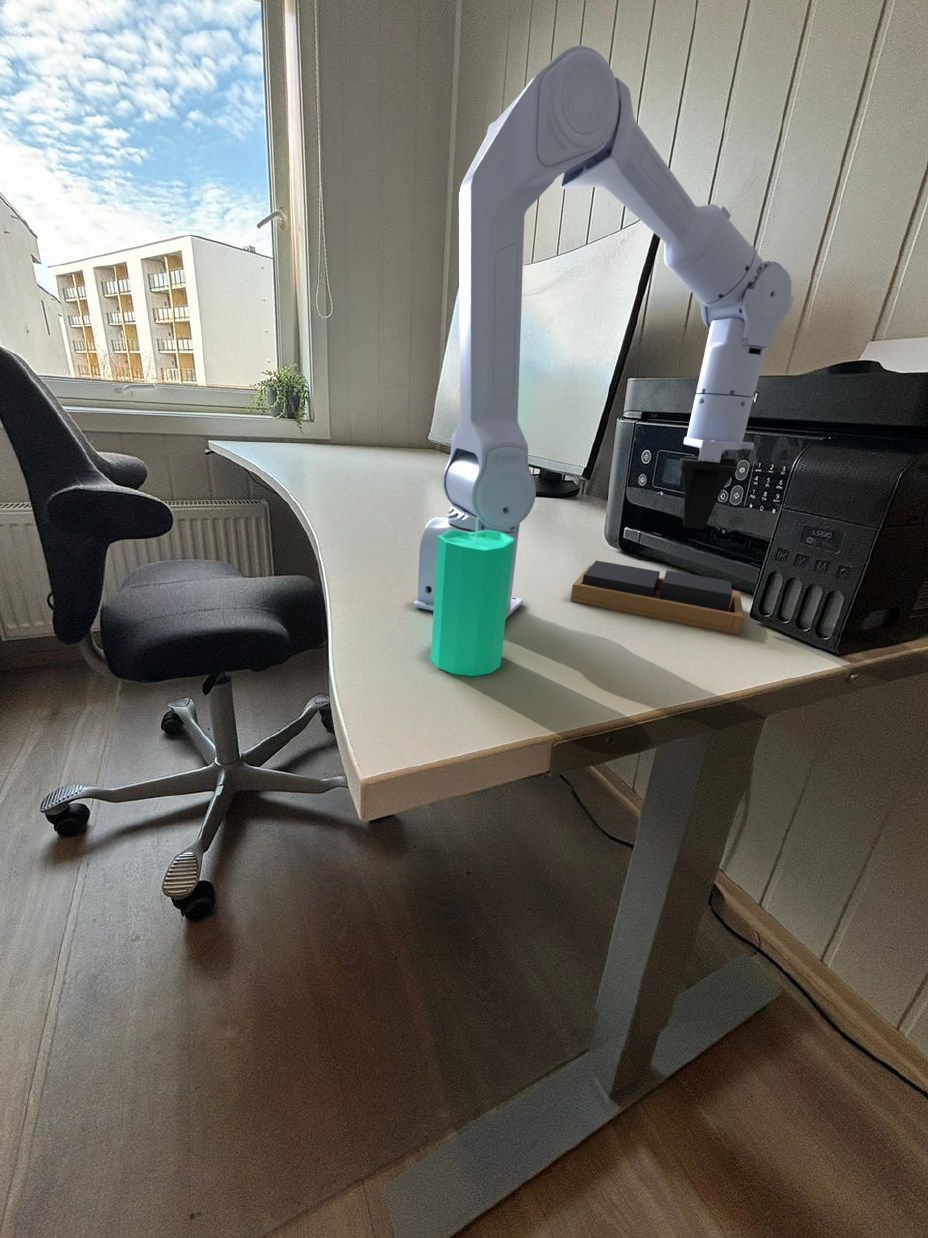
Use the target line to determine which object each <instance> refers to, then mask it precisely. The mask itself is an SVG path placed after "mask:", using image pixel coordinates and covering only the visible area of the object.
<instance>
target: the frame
mask: <svg viewBox="0 0 928 1238" xmlns="http://www.w3.org/2000/svg"><path fill="white" fill-rule="evenodd" d="M592 565H593V564H589V565H588V566H587V568H585V570H584V571H583V572H582V573H581V574H580V576H579V577H578V578H577V579H576V580H575V581H574V582H573V584H572V587H571V593H570V599H569V601H570V602H574V603H579V604H584V605H589V606H594V607H599V608H604V609H609V610H614V611H619V612H625V613H628V614H634V615H637V616H643V617H647V618H648V617H649V618H654V619H658V620H663V621H668V622H673V623H678V624H681V625H682V624H683V625H688V626H692V627H697V628H702V629H708V630H711V631H712V630H713V631H718V632H722V633H727V634H731V635H732V634H733V635H737V636H739V635H740V632H741V628H742V625H743V621H744V618H745V617H744V611H743V609H744V608H743V603H742V597H741V592H740V591H738V590H735V589H734V590H733V589H732V599H731V602H730V606H729V610H728V612H726V611H721V610H715V609H710V608H705V607H700V606H694V605H689V604H684V603H679V602H674V601H668V600H663V599H659V597H660V592H661V587H662V583H663V580H664V577H660V576H659V579H658V584H657V588H656V592H655V595H654V598H653V597H647V596H642V595H637V594H632V593H626V592H621V591H616V590H611V589H605V588H600V587H595V586H590V585H584V584H582V582H583V575H584V574H585V573H586V572H587V570H588V569H589V568H590V567H591V566H592Z"/></svg>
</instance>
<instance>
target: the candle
mask: <svg viewBox="0 0 928 1238" xmlns="http://www.w3.org/2000/svg"><path fill="white" fill-rule="evenodd" d="M478 520H479V517H477V522H476V532H469V533H467V532H462V531H457V530H452V529H451V530H449V531H447V532H445V533H443V534H441V535H439V536H438V539H437V557H436V575H435V593H434V611H432V614H433V615H432V633H431V647H430V648H431V650H430V661H431V663H433V664H434V665H435V666H436V668H438V669H439V670H442V671H444V672H448V673H450V674H453V675H457V676H458V675H460V676H471V677H476V676H482V675H488V674H492V673H493V672H495V671H496V670H498V669H499V668H501V667H502V666H501V665H502V657H503V655H502V654H503V646H504V637H505V636H504V635H505V627H506V621H507V618H506V610H507V601H508V592H509V583H510V574H511V565H512V555H513V546H514V538H512V537H511V536H509V535H507V534H505V533H502V532H496V531H489V530H485V531H478Z"/></svg>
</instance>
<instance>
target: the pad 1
mask: <svg viewBox="0 0 928 1238" xmlns="http://www.w3.org/2000/svg"><path fill="white" fill-rule="evenodd" d="M591 565H592V566H591V567H590V568H589V569H588V570H587V572H586V573H585V574H584V575H583V582H582V584H584V585H590V586H595V587H600V588H605V589H611V590H616V591H621V592H626V593H632V594H637V595H642V596H647V597H653V598H654V595H655V592H656V588H657V584H658V579H659V577H660V574H661V571H659V570H653V569H648V568H644V567H643V568H642V567H636V566H631V565H630V566H629V565H625V564H620V563H619V564H618V563H614V562H607V561H602V560H596V559H595V560H594V562H593V563H592V564H591Z"/></svg>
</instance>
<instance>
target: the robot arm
mask: <svg viewBox="0 0 928 1238" xmlns="http://www.w3.org/2000/svg"><path fill="white" fill-rule="evenodd" d="M562 175H563V176H562ZM560 176H562V179H561V183H560V189H561V190H574V189H585V188H586V189H587V188H599V187H601V188H604V189H605V190H606V191H607V192H609V194H611V195H612V196H613V197H614V198H615V199H616V200H617V201H618V202H619V203H621V204H622V205H623V206H624V207H625V208H626V209H627V210H628V211H630V213H632V214H633V215H634V216H635V217H636V218H637V219H638V220H640V222H642V223H643V224H644V225H645V226H646V227H647V228H648V229H649V230H650V231H651V232H653V233H654V234H655V235H656V236H657V237H658V238H659V239H661V241H663V242H664V249H663V262H664V265H665V266H666V267H667V268H668V269H669V270H670V271H671V273H672V274H674V275H675V277H677V279H678V280H680V282H681V283H682V284H683V285H684V286H685V287H686V288H687V289H688V290H689V291H690V292H691V293H692V294H693V295H694V296H695V297H696V298H697V299H696V301H697V302H698V303H699V305H700V314H701V319H702V322H703V324H704V326H705V327H706V328H709V331H708V336H707V340H706V344H705V350H704V354H703V355H704V356H703V359H702V364H701V369H700V373H699V379H698V383H697V387H696V392H695V396H694V401H693V405H692V410H691V415H690V420H689V425H688V429H687V433H686V436H684V438H683V445H686V446H689V447H694V448H698V449H699V450H698V451H699V455H698V456H692V455H685V456H684V457H681V458H680V459H679V462H678V463H679V464H678V465H679V468H680V471H681V475H682V481H683V482H682V483H683V512H682V522H683V523H682V524H683V528H688V529H693V530H694V529H695V530H704V529H705V528H706V526H707V524H708V522H709V520H710V518H711V515H712V513H713V511H714V508H715V506H716V504H717V501H718V499H719V497H720V495H721V493H722V491H723V490H724V488H725V486H726V485H727V483H729V481H730V479H731V478H732V477H733V476H734V474H735V473H736V472H737V471H738V466H735V464H736V463H737V459H736V458H733V457H725V456H722V454H725V453H726V451H742V450H754V446H755V443H754V442H749V441H744V437H745V434H746V429H747V425H748V421H749V417H750V413H751V408H752V406H753V401H754V398H755V393H756V388H757V385H758V381H759V378H760V373H761V369H762V365H763V361H764V357H765V354H766V350H767V348H768V347H770V345H771V343H773V342H774V339H775V334H776V331H777V329H778V327H779V325H780V323H781V322H783V320H784V319H785V318H786V317H787V315H788V313H789V311H790V310H791V307H792V304H793V302H794V297H793V296H792V279H791V276H790V274H789V272H788V270H787V269H786V268H785V267H783V266H782V265H781V264H780V263H779V262H776V261H774V260H773V261H771V260H767V261H763V259H762V257H761V256H760V255H759V254H758V253H759V252H758V250H757V249H756V248H755V246H754V245H751V244H750V243H749V242H748V241H747V239H746V238H745V237H744V236H743V235H742V234H741V232H740V231H739V230H738V229H737V228H736V226H735V225H734V224H733V223H732V221H731V220H730V219H731V213H730V211H729V210H728V209H727V208H726V207H725V206H720V207H719V206H718V205H717V204H714V203H710V204H708V203H707V204H704V205H699V206H697V205H696V203H694V201H693V200H692V198H691V197H690V196H689V194H688V193H687V192H686V191H687V190H685V189H684V187H683V186H682V184H681V183H680V182H679V180H678V178H677V177H676V176H675V174H674V173H673V171H672V170H671V168H669V166H668V165H667V163H666V161H664V159H663V158H662V156H661V155H660V153H659V152H658V151H657V149H656V148H655V146H654V145H653V143H652V142H651V141H650V139H649V138H648V137H647V134H645V132H644V131H643V129H642V128H641V126H640V125H639V124H638V123H637V121H636V119H635V115H634V108H633V102H632V96H631V91H630V88H629V86H628V85H627V84H626V83H625V82H623V81H622V80H621V79H620V78H619V77H617V76H615V74H614V72H613V70H612V68H611V66H610V64H609V62H607V60H606V59H605V58H604V56H603V55H602V54H600V52H598V51H597V50H595V49H594V48H592V47H589V46H585V45H574V46H571V47H569V48H566V49H564V50H563V51H562V52H560V53H559V54H557V56H556V57H555V58H553V59H552V60H551V61H550V62H549V63H548V64H546V65H545V66H544V67H543V68H541V69H540V70H539V72H537V73H536V74H535V75H534V76H533V78H532V79H531V80H530V81H529V82H528V83H527V84H526V86H525V87H524V88H523V90H522V91H521V92H520V93H519V95H518V96H517V97H516V98H515V99H514V100H513V101H512V102H511V104H510V105H508V106H507V108H506V109H504V111H503V112H502V113H501V114H500V115H498V117H497V118H495V119H494V120H493V121H492V122H491V123H489V125H488V127H487V132H486V136H485V137H484V139H483V140H482V143H481V145H480V147H479V149H478V151H477V152H476V154H475V157H474V158H473V160H472V162H471V164H470V166H469V167H468V170H467V172H466V174H465V176H464V178H463V180H462V181H461V184H460V189H459V195H458V214H459V216H458V220H459V221H458V224H459V225H458V227H459V230H458V231H459V232H458V234H459V235H458V237H459V240H458V245H459V247H458V248H459V252H458V253H459V255H458V256H459V373H460V374H459V384H460V385H459V386H460V387H459V391H460V392H459V397H460V398H459V399H460V400H459V402H460V403H459V405H460V409H459V410H460V417H459V418H460V419H459V423H458V425H457V426H456V429H455V430H454V432H453V434H452V436H451V439H450V455H449V458H448V462H447V464H446V465H445V467H444V469H443V470H444V471H443V473H442V489H443V492H444V495H445V498H446V499H447V500H448V502H449V503H450V504H451V507H450V508H449V511H448V513H447V517H440V516H438V517H433V518H431V519H430V520H429V521H428V522H427V524H426V526H425V527H424V529H423V531H422V534H421V535H422V536H421V539H420V544H419V551H418V552H419V554H418V575H417V576H418V577H417V598H416V600H414V602H413V606H414V608H419V609H423V610H428V611H432V612H433V611H434V593H435V575H436V557H437V539H438V536H439V535H441V534H443V533H445V532H447V531H449V530H451V529H452V530H457V531H462V532H467V533H469V532H476V522H477V517H479V520H478V531H485V530H489V531H496V532H502V533H505V534H507V535H509V536H511V537H512V538H514V546H513V555H512V565H511V574H510V583H509V592H508V601H507V610H506V619H508V618H509V616H511V615H512V614H513V613H514V612H515V611H516V610H517V609H518V608H519V607H520V606H521V605H522V604H523V602H524V600H523V598H520V597H516V596H513V587H514V578H515V568H516V561H517V552H518V551H517V550H518V545H519V544H518V543H519V534H520V526H521V523H522V522H523V521H524V520H525V519H526V518H527V517H528V515H529V514H530V513H531V511H532V509H533V507H534V504H535V502H536V495H537V487H536V481H535V478H534V475H533V473H532V472H531V469H530V465H529V445H528V443H527V440H526V438H525V435H524V433H523V430H522V428H521V426H520V423H519V418H518V417H519V395H520V393H519V391H520V390H519V389H520V365H521V364H520V362H521V359H520V358H521V334H522V333H521V331H522V302H523V301H522V299H523V273H524V271H523V270H524V239H525V238H524V237H525V216H526V213H527V211H528V210H529V209H530V207H531V206H532V205H533V204H534V203H536V201H538V199H539V198H540V197H541V196H542V195H543V194H544V193H545V191H547V190H548V188H550V186H551V185H552V184H553V183H554V182H555V180H556V179H557V178H559V177H560Z"/></svg>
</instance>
